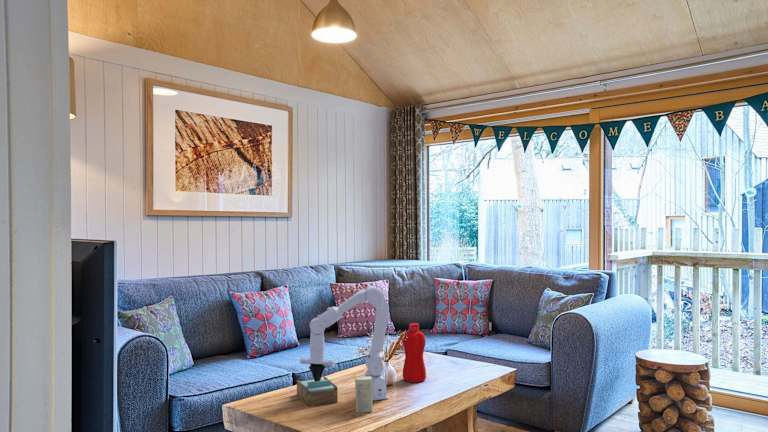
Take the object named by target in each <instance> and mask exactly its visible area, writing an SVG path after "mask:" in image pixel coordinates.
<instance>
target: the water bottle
mask: <svg viewBox="0 0 768 432" xmlns="http://www.w3.org/2000/svg"><path fill="white" fill-rule="evenodd" d="M404 334H405V337H404V338H405V339H407V340H406V341H405V340H404V339H403V338H402V343H401V347H403V350H404V353H402V355H405V356H404V357H405V358H404V363H403V368H402V378H403V380H405V381H407V382H408V383H419V382H423V381H425V380H426V379H427V370H426V369H427V368H426V364H425V361H424V351H425V346H426V341H427V340H426V335H425V334H424V332H422V331H420V323H417V322H411V323H409V324H408V330H407V331H405V332H404ZM406 335H407V337H408V338H406Z"/></svg>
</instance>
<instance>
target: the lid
mask: <svg viewBox="0 0 768 432" xmlns="http://www.w3.org/2000/svg"><path fill="white" fill-rule="evenodd" d="M299 381H300V380H299ZM300 382H301V383H302V384H303V385H304V386H305V387H306V388H307V389H308V390H309V392H317V391H324V390H332V389H335V387H333V386H332V385H331V382H332V380H330V379H329V380H325V379H324V378H321V380H320V381H314V379H309V380H301V381H300Z"/></svg>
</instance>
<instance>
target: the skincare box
mask: <svg viewBox="0 0 768 432" xmlns="http://www.w3.org/2000/svg"><path fill="white" fill-rule="evenodd" d="M354 381H355V382H354V383H355V385H354V388H355V411H356V413H369V412H371V413H372V412H373V410H374V406H373V401H372V377H371V376H365V375H364V376H356V377H355V379H354Z"/></svg>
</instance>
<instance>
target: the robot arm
mask: <svg viewBox="0 0 768 432" xmlns="http://www.w3.org/2000/svg"><path fill="white" fill-rule="evenodd" d="M367 303H369V304H371V306H372V305H373V307H374V308H375V309H376V315H375V321H374V326H373V332H372V339H371V346H370V350H369V352H368V356H367V357H366V359H365V362H364V364H365V367H366V368H367V370H366V372H365V375H364V377H365V376H371V377H372V402H373V401H381V400H388V399H389V396H388V395H387V393H388V391H387V381H386V380H385V378H384V372H383V371H384V364H383V360H384V359H383V355H384V354H383V350H384V344H385V337H386V331H387V326H388V319H389V314H390V313H389V312H390V306H389V304H388V301H387V300H386V297H385V295H384V293H383V292H382V291H381V290H380V289H379V288H378V287H376V285H372V284H371V285H367V286H366V287H365V288H363V289H360V290H359V291H357V292H356V293H354V294H353V295H352V296H351V297H349V298H348V299H346V300H345V301H344V302H342V303H341V304H340V305H338V306H331V307H330V306H329V307H327V308H326V311H324V312H322V313H321V314H318V315H316V316H317V317H314V318H312V319H310V322H309V328H310V329H309V330H310V334H309V335H310V338H309V357H302V358H299V362H300V363H299V364H302V365H304V364H305V365H309V366H308V369H309V371H310V372H311V375H312V378H313V380H314V381H320V380H321V379H322V376H323V374H324V373H323V372H324V370H325V368H326V367H327V366H328V367H330V368H331V367H332V368H333V367H335V366H336V361H335V360H331V359H328V358H327V359H326V358H325V357H326V356H325V354H326V353H325V349H326V348H325V343H326V342H325V333H324V332H325V330H326V328H329V327H331V326H332V325H334V324H335V323H336V322H338V321H339V320H340V319H341V318H342V315H343V314H344V313H346V312H347V311H349V310H350V309H352V308H353V307H355V306H356V305H358V304H367Z"/></svg>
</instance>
